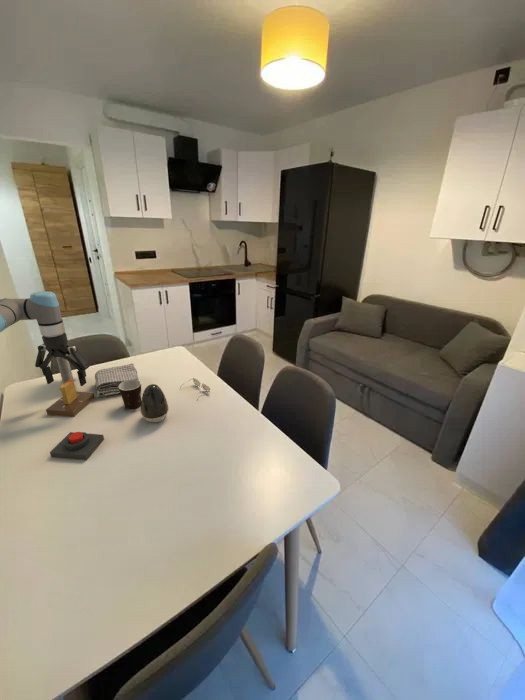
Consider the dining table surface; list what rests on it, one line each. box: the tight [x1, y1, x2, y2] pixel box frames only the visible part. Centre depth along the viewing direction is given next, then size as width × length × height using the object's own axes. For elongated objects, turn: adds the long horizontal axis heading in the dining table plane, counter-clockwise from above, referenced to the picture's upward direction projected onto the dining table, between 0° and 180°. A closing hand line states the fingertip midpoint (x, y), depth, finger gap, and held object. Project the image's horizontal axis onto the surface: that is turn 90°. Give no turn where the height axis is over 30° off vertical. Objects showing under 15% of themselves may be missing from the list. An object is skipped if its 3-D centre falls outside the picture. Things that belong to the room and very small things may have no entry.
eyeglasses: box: [179, 377, 211, 401], centre depth 133 cm, size 14×8×4 cm, turn 49°
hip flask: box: [55, 354, 74, 385], centre depth 131 cm, size 16×4×20 cm, turn 33°
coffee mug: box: [118, 379, 142, 411], centre depth 119 cm, size 12×9×10 cm
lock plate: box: [45, 390, 96, 418], centre depth 120 cm, size 14×11×3 cm
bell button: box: [69, 431, 84, 444], centre depth 97 cm, size 4×4×2 cm
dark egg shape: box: [140, 383, 170, 423], centre depth 112 cm, size 10×10×15 cm
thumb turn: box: [59, 379, 78, 404], centre depth 118 cm, size 6×2×8 cm, turn 176°
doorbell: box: [49, 431, 105, 461], centre depth 98 cm, size 12×10×4 cm
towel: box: [94, 363, 143, 398], centre depth 134 cm, size 15×18×8 cm
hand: (67, 383), depth 116 cm, fingers open, 13 cm apart
